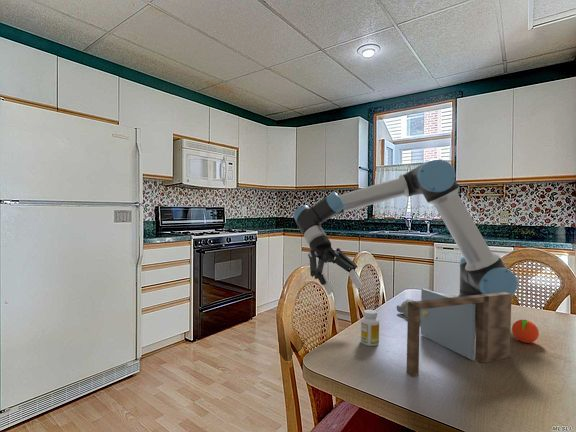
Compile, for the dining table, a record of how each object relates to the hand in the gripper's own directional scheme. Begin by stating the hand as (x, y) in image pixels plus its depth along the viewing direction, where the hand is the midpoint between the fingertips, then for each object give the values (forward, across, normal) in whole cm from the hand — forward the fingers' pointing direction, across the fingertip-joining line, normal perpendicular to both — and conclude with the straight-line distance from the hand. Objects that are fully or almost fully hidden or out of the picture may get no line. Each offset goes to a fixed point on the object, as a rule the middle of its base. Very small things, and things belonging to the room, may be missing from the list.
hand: (346, 289), depth 109 cm
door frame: (+34, -9, +14) cm, 38 cm away
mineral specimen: (+13, -33, -7) cm, 36 cm away
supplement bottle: (+18, 0, -3) cm, 18 cm away
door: (+27, -17, +8) cm, 33 cm away
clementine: (+36, -42, +16) cm, 58 cm away
